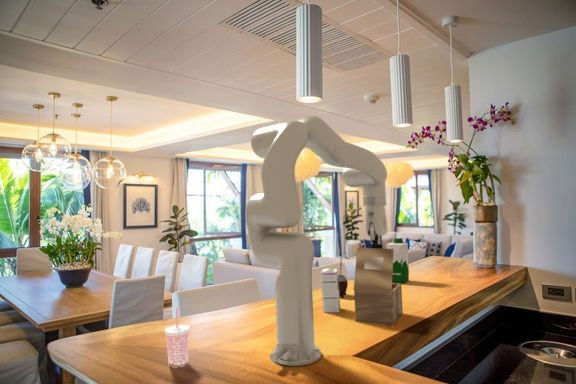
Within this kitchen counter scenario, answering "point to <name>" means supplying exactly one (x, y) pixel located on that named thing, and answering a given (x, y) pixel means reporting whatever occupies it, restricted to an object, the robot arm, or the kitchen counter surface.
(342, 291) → the mate gourd
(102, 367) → the kitchen counter surface
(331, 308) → the syrup box
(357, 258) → the carton flap
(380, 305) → the carton
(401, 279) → the milk carton
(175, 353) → the beverage cup
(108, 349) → the kitchen counter surface
